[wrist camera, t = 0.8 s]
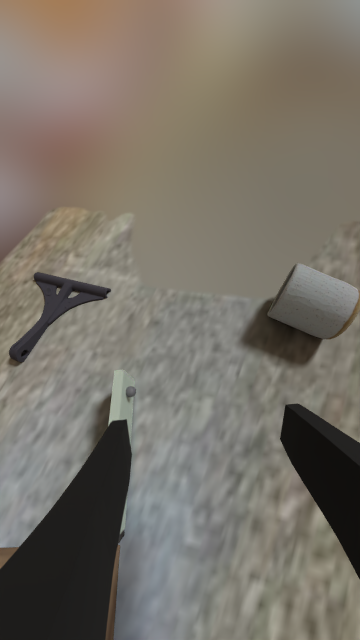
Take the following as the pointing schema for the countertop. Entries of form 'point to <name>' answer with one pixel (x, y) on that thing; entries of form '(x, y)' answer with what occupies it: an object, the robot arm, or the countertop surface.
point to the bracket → (55, 308)
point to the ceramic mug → (315, 303)
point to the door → (122, 407)
